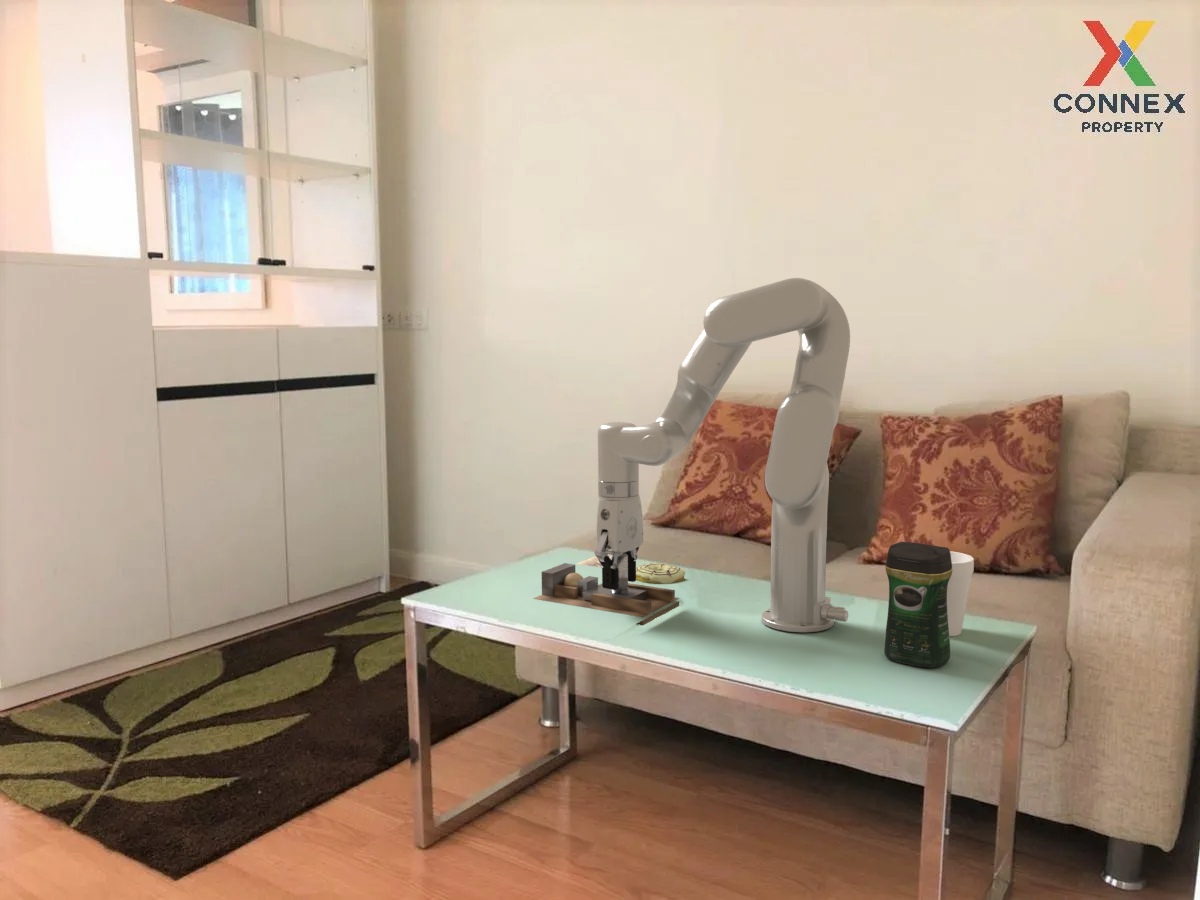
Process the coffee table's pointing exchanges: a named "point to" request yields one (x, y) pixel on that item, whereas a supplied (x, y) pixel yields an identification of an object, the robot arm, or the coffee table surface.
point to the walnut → (572, 579)
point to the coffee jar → (918, 604)
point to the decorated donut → (659, 573)
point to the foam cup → (958, 590)
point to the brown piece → (605, 596)
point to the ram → (591, 586)
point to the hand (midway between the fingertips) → (619, 583)
